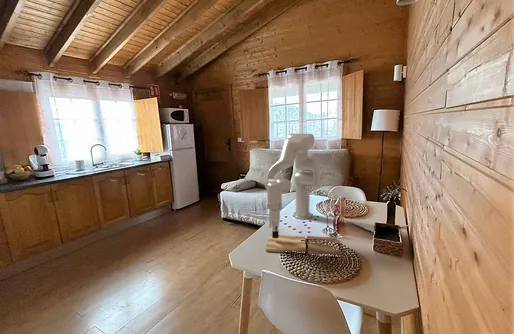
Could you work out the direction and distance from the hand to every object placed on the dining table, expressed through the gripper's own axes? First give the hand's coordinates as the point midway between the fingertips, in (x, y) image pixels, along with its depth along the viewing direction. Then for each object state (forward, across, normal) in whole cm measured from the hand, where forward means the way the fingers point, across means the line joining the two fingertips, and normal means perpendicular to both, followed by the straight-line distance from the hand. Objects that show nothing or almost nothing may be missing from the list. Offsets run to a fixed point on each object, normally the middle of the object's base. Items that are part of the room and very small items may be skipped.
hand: (275, 237), depth 129 cm
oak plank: (+4, +1, +6) cm, 7 cm away
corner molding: (+6, -38, +59) cm, 70 cm away
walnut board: (+4, +1, +25) cm, 25 cm away
